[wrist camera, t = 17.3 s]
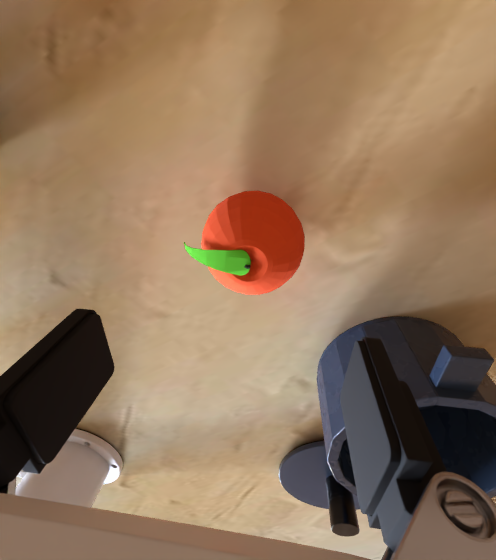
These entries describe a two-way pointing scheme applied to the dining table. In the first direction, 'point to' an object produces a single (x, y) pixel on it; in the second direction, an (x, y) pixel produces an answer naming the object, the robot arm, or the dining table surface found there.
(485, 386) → the pot
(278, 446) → the dining table surface
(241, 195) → the clementine
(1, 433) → the robot arm
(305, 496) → the lid
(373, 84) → the dining table surface
